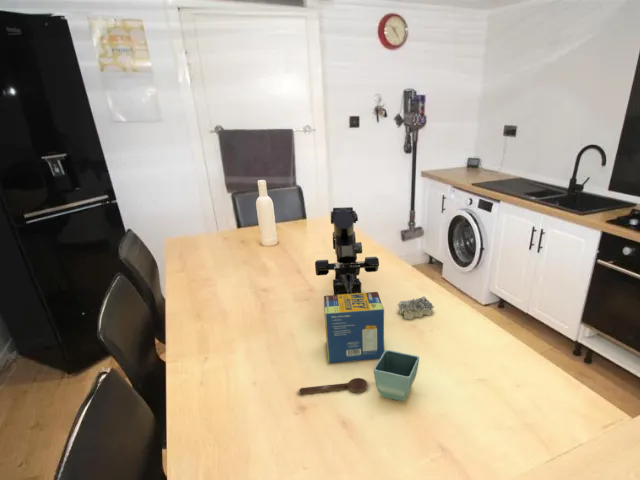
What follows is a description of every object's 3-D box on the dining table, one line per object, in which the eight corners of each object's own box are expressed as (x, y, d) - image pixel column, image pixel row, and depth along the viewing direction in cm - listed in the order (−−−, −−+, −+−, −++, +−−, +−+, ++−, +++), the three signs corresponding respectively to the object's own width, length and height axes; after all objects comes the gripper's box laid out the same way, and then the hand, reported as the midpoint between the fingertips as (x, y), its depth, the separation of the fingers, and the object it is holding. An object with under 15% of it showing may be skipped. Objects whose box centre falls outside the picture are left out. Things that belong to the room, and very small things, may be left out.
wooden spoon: (299, 399, 97) (298, 395, 96) (299, 387, 101) (299, 382, 100) (368, 392, 99) (368, 387, 99) (365, 380, 103) (365, 375, 103)
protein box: (326, 343, 119) (323, 295, 112) (378, 338, 121) (378, 291, 114) (328, 364, 109) (324, 313, 103) (384, 358, 112) (384, 308, 105)
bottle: (275, 246, 195) (267, 182, 182) (259, 246, 195) (250, 182, 182) (279, 240, 202) (272, 178, 189) (263, 240, 202) (255, 178, 189)
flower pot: (418, 386, 101) (420, 355, 97) (409, 409, 94) (410, 377, 90) (385, 378, 104) (385, 349, 100) (373, 401, 96) (372, 369, 92)
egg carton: (405, 321, 130) (405, 309, 128) (396, 310, 136) (396, 299, 135) (435, 314, 134) (435, 303, 132) (424, 304, 140) (425, 294, 138)
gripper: (312, 234, 115) (316, 285, 110) (378, 230, 118) (384, 281, 113) (314, 250, 126) (317, 298, 121) (374, 247, 128) (380, 294, 123)
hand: (349, 293), depth 119 cm, fingers closed
